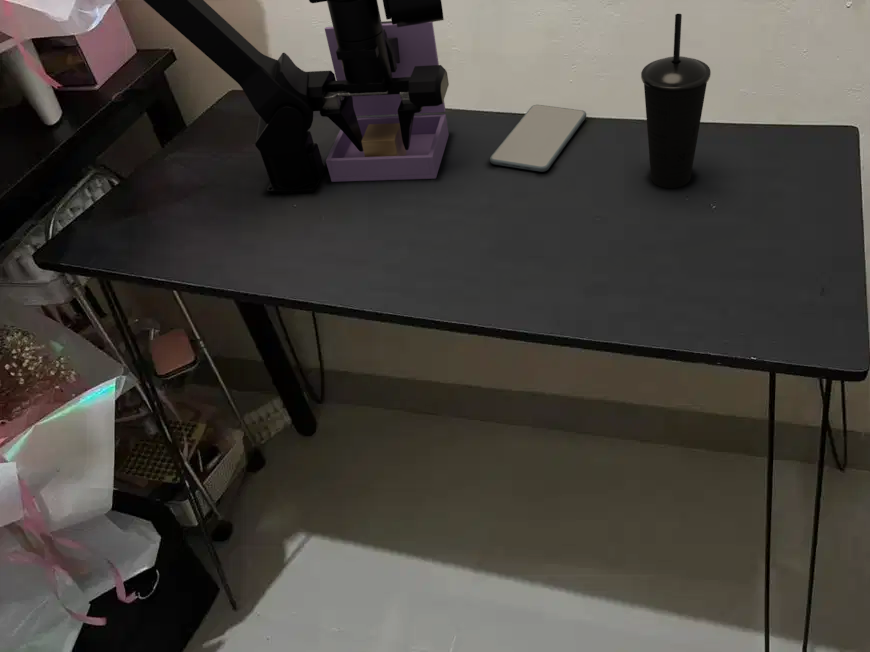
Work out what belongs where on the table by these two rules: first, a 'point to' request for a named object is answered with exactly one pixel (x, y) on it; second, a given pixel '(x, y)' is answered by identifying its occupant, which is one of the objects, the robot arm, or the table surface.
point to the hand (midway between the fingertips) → (384, 149)
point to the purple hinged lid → (413, 51)
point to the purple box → (414, 165)
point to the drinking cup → (674, 113)
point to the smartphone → (538, 138)
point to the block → (383, 140)
